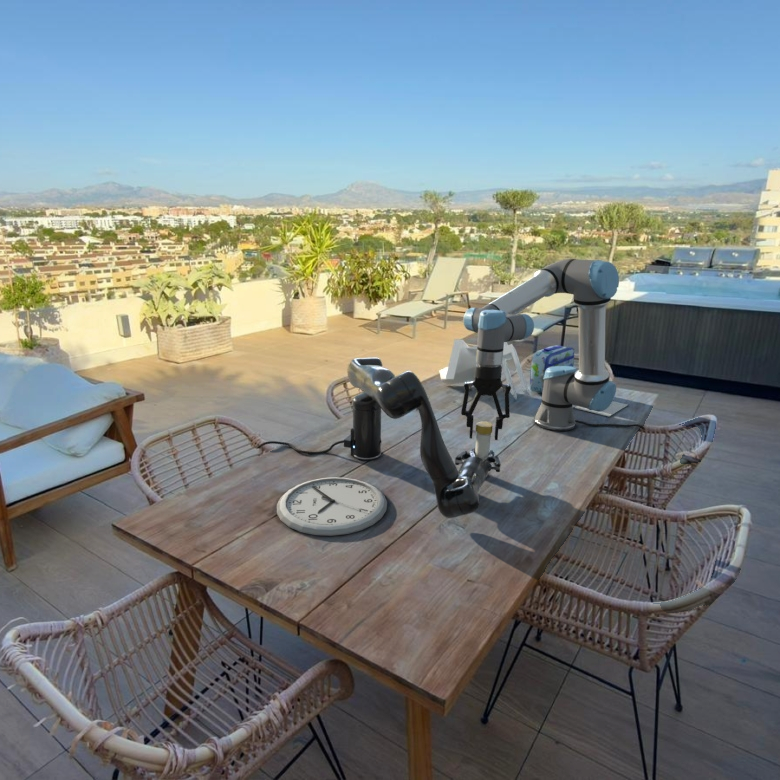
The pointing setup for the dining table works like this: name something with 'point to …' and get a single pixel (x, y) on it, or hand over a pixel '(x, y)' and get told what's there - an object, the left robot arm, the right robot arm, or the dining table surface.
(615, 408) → the invitation card
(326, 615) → the dining table surface
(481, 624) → the dining table surface
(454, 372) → the white plastic object
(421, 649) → the dining table surface
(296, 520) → the wall clock
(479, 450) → the jar
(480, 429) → the lid
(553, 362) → the lunch box
